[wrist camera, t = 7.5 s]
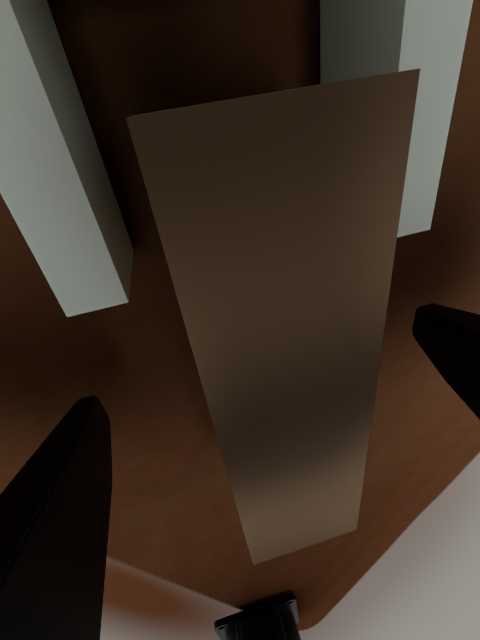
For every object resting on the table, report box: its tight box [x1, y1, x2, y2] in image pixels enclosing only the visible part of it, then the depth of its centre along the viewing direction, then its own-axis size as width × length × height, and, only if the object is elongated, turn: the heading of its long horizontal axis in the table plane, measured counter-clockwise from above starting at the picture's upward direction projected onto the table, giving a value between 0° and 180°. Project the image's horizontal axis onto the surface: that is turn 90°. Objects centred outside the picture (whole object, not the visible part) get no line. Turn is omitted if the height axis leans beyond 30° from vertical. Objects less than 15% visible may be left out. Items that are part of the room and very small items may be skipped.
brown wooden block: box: [126, 68, 420, 565], centre depth 9 cm, size 12×4×5 cm, turn 8°
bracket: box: [0, 0, 473, 317], centre depth 6 cm, size 6×8×3 cm
